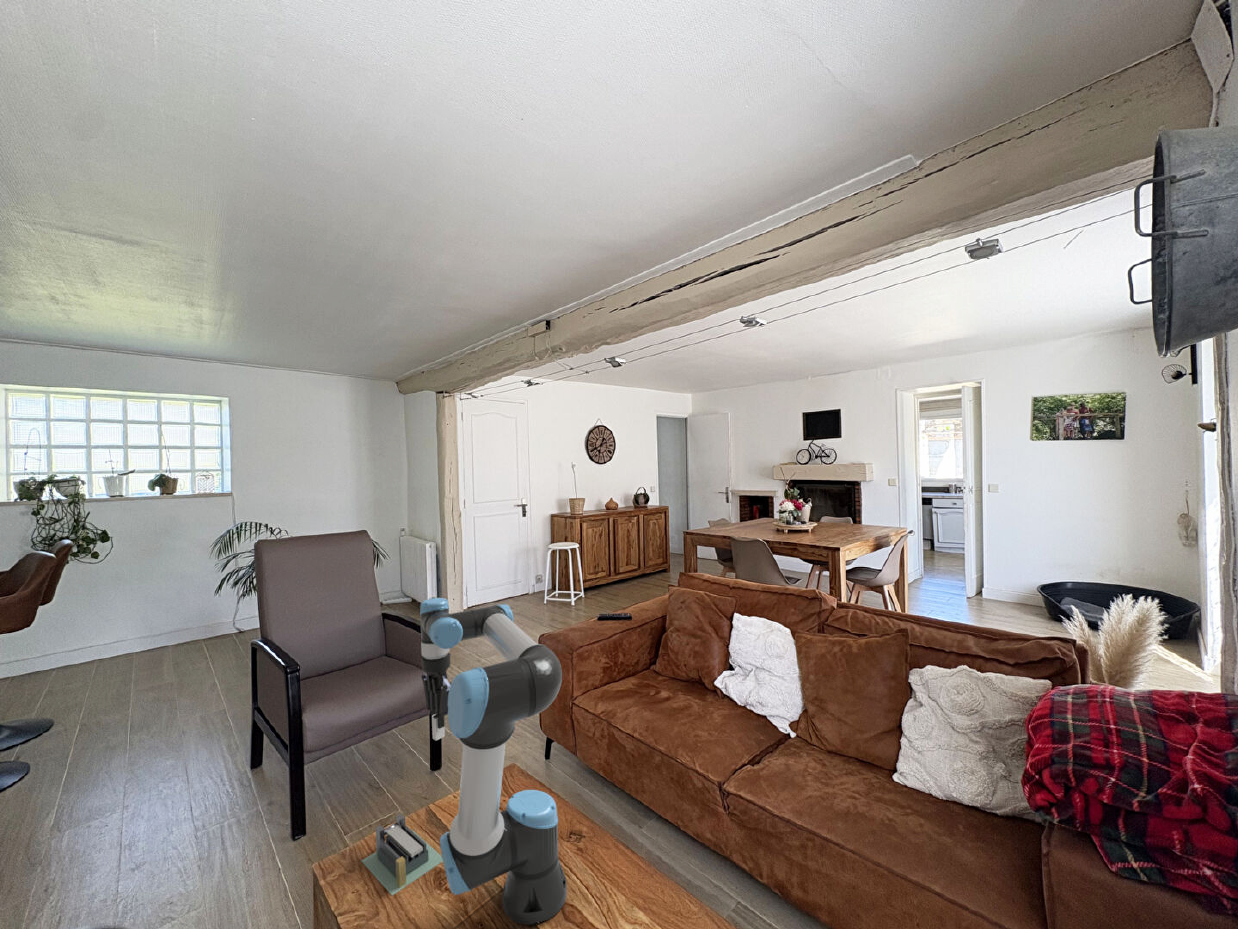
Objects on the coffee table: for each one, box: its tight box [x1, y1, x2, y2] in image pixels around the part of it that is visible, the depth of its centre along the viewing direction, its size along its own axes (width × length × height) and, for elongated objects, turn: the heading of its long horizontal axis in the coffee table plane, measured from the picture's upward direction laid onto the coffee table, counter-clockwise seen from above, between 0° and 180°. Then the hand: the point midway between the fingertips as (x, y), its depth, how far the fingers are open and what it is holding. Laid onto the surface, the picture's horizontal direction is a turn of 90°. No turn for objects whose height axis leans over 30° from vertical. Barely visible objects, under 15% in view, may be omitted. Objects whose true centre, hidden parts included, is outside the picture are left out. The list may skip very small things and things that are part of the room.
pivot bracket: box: [375, 813, 406, 855], centre depth 137 cm, size 2×7×7 cm, turn 139°
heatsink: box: [378, 824, 429, 878], centre depth 133 cm, size 11×8×5 cm
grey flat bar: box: [384, 821, 423, 858], centre depth 133 cm, size 15×4×1 cm, turn 50°
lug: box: [396, 857, 406, 888], centre depth 125 cm, size 2×2×6 cm
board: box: [361, 829, 443, 896], centre depth 133 cm, size 17×14×1 cm
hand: (438, 737), depth 145 cm, fingers closed
